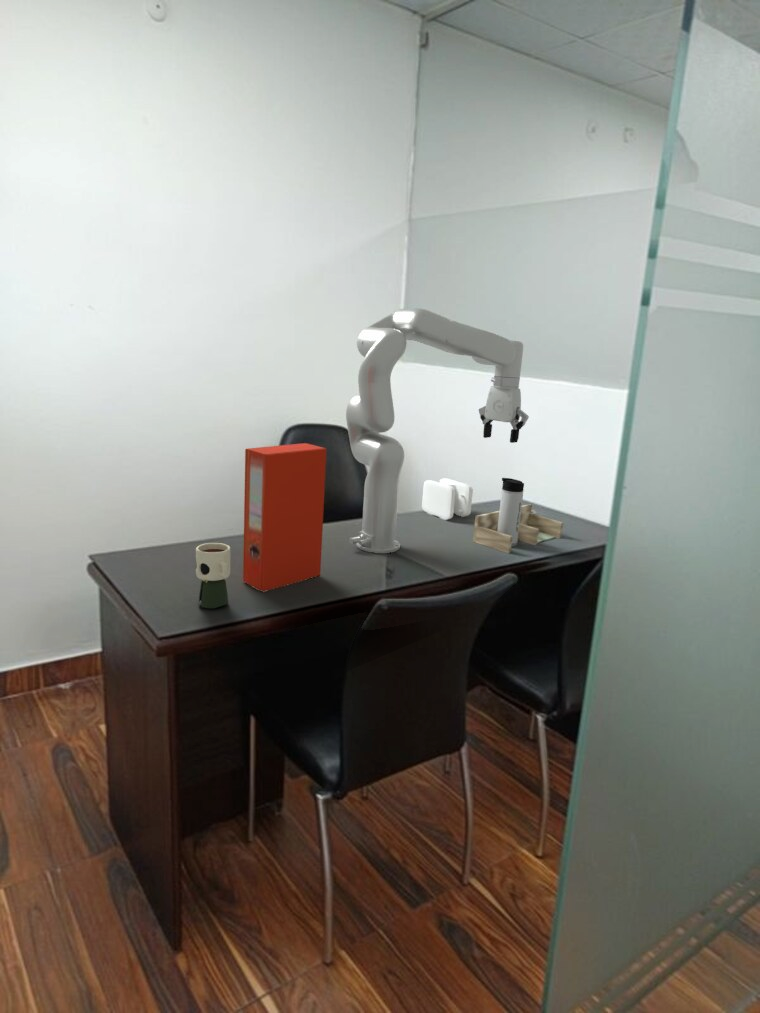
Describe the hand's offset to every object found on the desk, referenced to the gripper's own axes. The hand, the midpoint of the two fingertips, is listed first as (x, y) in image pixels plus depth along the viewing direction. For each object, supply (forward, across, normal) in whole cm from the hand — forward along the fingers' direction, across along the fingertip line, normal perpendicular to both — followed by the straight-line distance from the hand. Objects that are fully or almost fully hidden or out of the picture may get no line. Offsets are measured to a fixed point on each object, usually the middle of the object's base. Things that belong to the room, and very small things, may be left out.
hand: (500, 439), depth 204 cm
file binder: (+30, -6, -77) cm, 83 cm away
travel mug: (+30, +10, -6) cm, 32 cm away
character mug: (+30, -2, -98) cm, 103 cm away
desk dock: (+30, +10, +1) cm, 31 cm away
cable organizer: (+30, -22, +4) cm, 37 cm away
